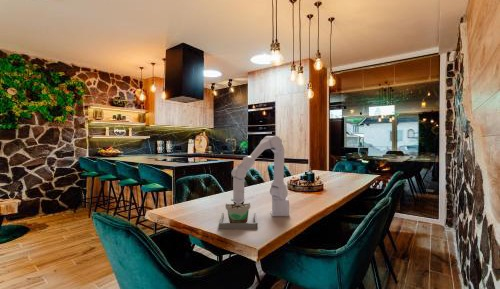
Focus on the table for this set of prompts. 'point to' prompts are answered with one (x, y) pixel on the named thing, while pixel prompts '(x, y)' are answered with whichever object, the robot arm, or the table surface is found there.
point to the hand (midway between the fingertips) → (238, 216)
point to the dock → (238, 224)
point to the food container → (238, 212)
